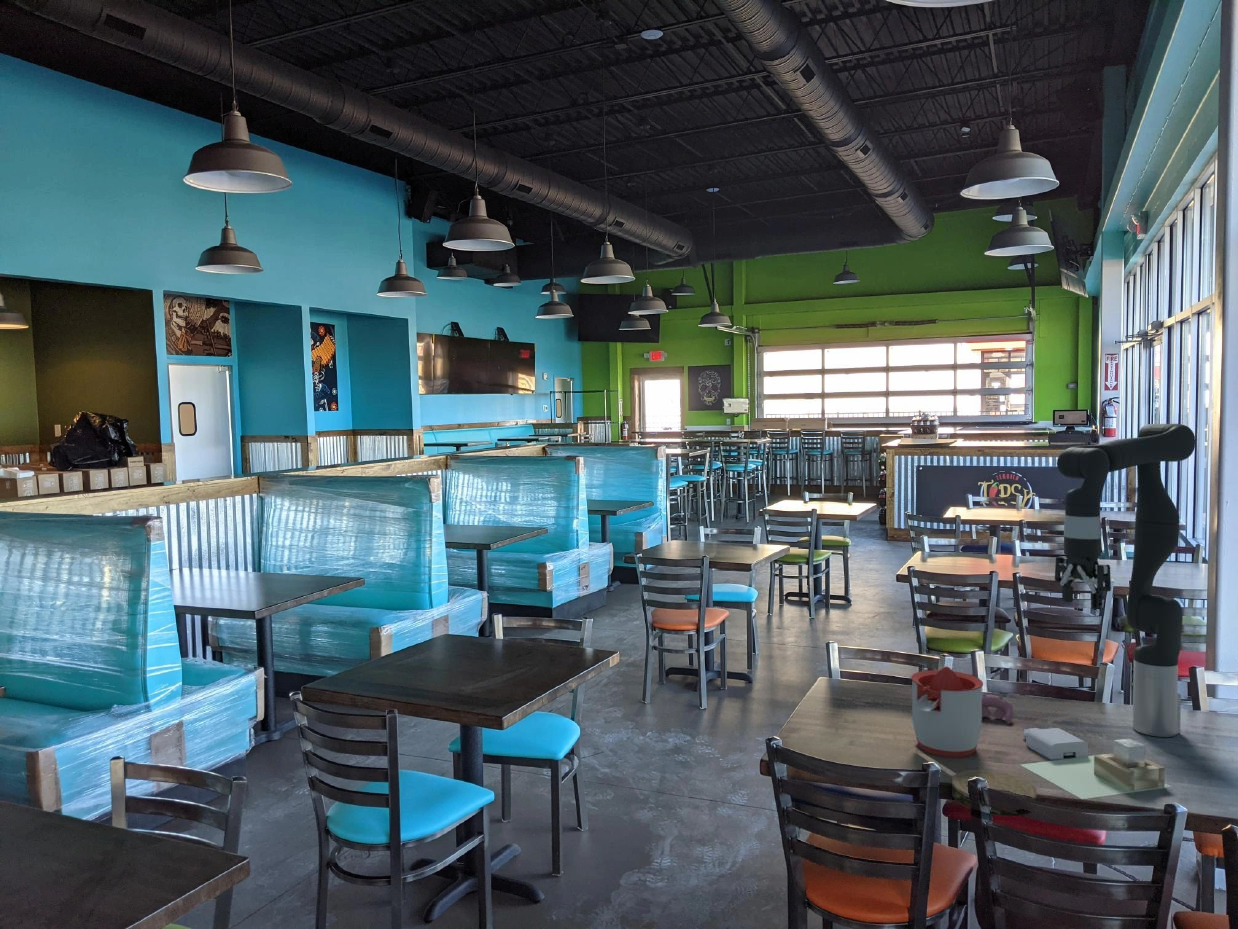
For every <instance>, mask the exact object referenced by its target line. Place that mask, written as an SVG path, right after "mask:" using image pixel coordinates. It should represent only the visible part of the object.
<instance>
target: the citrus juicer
mask: <svg viewBox="0 0 1238 929" xmlns="http://www.w3.org/2000/svg"><path fill="white" fill-rule="evenodd" d="M910 679H911V682H912V686H911V687H912V689H911V690H912V692H911V694H912V696H911V697H912V701H911V702H912V703H911V704H912V706H911V708H912V710H911V713H912V714H911V715H912V724H913V730H914V734H915V737H916V741H917V744H918V747H919V748H920V749H921V750H922V751H924V752H926V753H928V754H932V755H934V756H940V757H945V758H946V757H947V758H964V757H968V756H971V755H973V754H974V753H975V751H976V749H977V747H978V742H979V739H980V735H981V729H982V720H983V719H982V718H983V716H982V695H983V686H984V682H983V680H982V679H980V678H978V677H977V676H975V675H971V674H969V673H965V672H960V671H954V670H953V669H952V668H950V667H949V666H943V668H941V669H932V670H930V669H927V670H921V671H917V672H915V673H913V674H912V675H911V677H910Z"/></svg>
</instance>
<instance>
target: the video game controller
mask: <svg viewBox="0 0 1238 929" xmlns="http://www.w3.org/2000/svg"><path fill="white" fill-rule="evenodd" d="M990 708H995V710H994V711H993V716H994V717H995V719H996V720H1003V718H1004V717H1005V721H1006V724H1008V725H1010V724H1011V723H1012V720H1013V714H1014V713H1013V712H1014V711H1013V710H1014V706H1013V704H1012V702H1010V701H1009V700H1008V699H1007V698H1004V697H1001V696H999V695H993V694H984V695H983V694H982V718H983V717H984V718H988V717H990V716H991V710H990Z"/></svg>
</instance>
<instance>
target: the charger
mask: <svg viewBox="0 0 1238 929" xmlns="http://www.w3.org/2000/svg"><path fill="white" fill-rule="evenodd" d="M1021 734H1022V735H1023V737H1025V740H1026V742H1025V745H1026V747H1028V748H1030V749H1031V750H1034V751H1035V752H1037V753H1038V754H1040V755H1042V756H1044V758H1047V759H1049V761H1054V760H1062V759H1064V756H1074V757H1075V758H1078V757H1086V756H1089V744H1088V742H1086V741H1085V740H1082V739H1080V738H1079V737H1076V736H1075V735H1072V734H1071V733H1069V732H1067V731H1065V730H1063V729H1061V728H1059V727H1052V728H1038V727H1033V728H1027V729H1026V728H1024V729H1023V732H1022V733H1021Z"/></svg>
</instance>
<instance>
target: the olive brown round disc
mask: <svg viewBox="0 0 1238 929" xmlns="http://www.w3.org/2000/svg"><path fill="white" fill-rule="evenodd" d="M974 776H976V777H982V778H984V779H986V780H987V783H988V786H989V787H990V788H995V789H997V790H1005V791H1010V792H1013V793H1016V794H1020V795H1026V796H1030V797H1032V798H1035V799H1037V800H1038V791H1037V788H1036V787H1035V786H1034V785H1033V784H1032V783H1031V782H1029V781H1028V780H1026V779H1025V778H1022V777H1019V776H1017V775H1014V774H1012V773H1007V772H1002V771H997V770H988V769H970V770H963V771H960V772H957V773H955V774H954V776H953V777H952V778H951V779H952V780H951V792H952V793H951V796H952V797H953V798H954V800H955V801H956V802H957V803H959V804H960V805H962V806H964V807H966V808H968V809H971V804H970V801H969V793H968V787H967V780H968V779H970V777H974ZM971 810H972V809H971ZM989 815H994V816H999V817H1017V816H1020V815H1019V814H1014V813H1011V812H1006V811H1005V810H1000V809H994V808H991V809H990V814H989Z"/></svg>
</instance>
